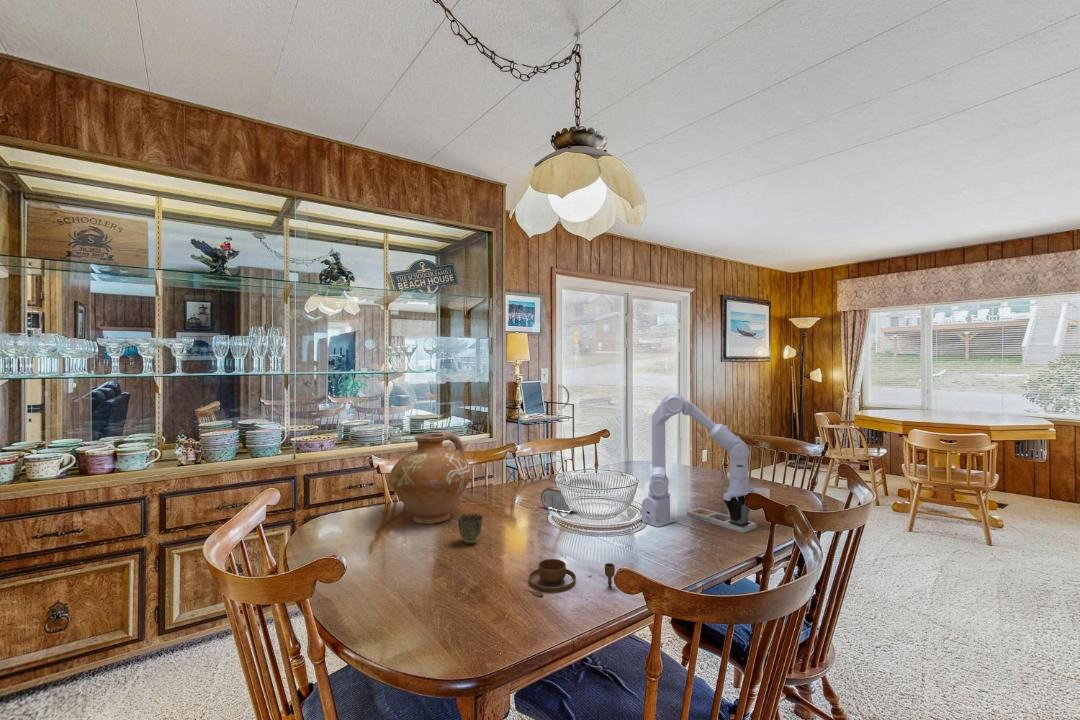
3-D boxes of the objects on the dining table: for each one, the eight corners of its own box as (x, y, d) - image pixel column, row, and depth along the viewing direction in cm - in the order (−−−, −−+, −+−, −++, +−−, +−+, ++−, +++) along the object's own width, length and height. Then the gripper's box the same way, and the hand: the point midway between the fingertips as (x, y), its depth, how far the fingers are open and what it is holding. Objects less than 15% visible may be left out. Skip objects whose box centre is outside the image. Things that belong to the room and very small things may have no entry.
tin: (579, 513, 178) (579, 489, 178) (575, 515, 175) (575, 492, 175) (544, 506, 186) (544, 484, 186) (539, 509, 183) (539, 486, 183)
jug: (376, 518, 174) (375, 434, 174) (445, 502, 193) (444, 426, 193) (414, 539, 153) (413, 443, 153) (487, 518, 172) (486, 433, 172)
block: (741, 530, 158) (741, 505, 158) (730, 526, 161) (730, 502, 161) (748, 527, 161) (748, 503, 161) (737, 524, 164) (737, 500, 164)
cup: (477, 548, 145) (477, 521, 145) (454, 546, 147) (454, 519, 147) (485, 539, 153) (485, 513, 153) (463, 537, 154) (463, 512, 154)
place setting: (557, 565, 134) (557, 544, 134) (619, 588, 121) (618, 564, 121) (511, 588, 121) (511, 564, 121) (575, 616, 108) (574, 589, 108)
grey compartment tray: (743, 533, 156) (743, 528, 156) (687, 515, 173) (687, 511, 173) (756, 527, 160) (756, 523, 160) (700, 511, 178) (700, 507, 178)
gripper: (737, 483, 153) (737, 526, 154) (762, 476, 162) (762, 517, 162) (717, 478, 159) (717, 520, 159) (742, 472, 168) (743, 511, 168)
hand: (739, 518), depth 161 cm, fingers open, 5 cm apart
